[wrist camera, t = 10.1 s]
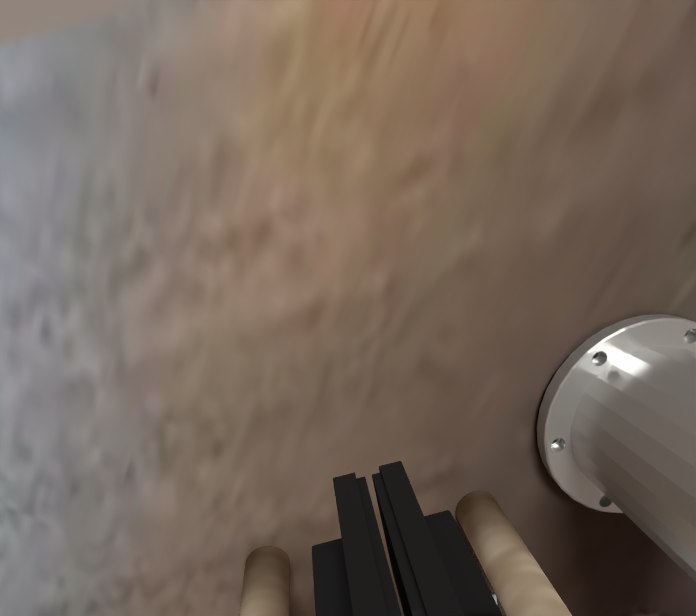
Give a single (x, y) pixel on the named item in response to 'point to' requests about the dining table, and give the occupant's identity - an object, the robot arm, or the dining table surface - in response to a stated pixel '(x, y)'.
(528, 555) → the post
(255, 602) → the post
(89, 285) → the dining table surface
